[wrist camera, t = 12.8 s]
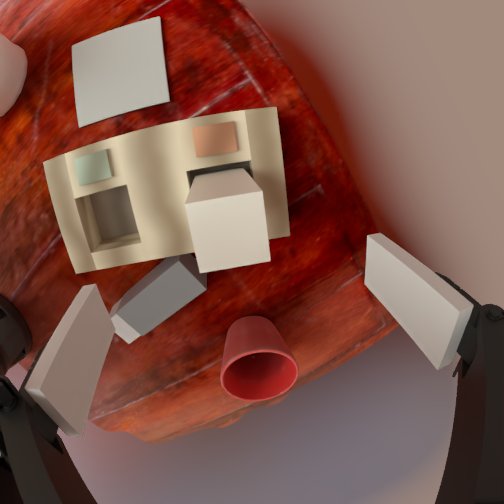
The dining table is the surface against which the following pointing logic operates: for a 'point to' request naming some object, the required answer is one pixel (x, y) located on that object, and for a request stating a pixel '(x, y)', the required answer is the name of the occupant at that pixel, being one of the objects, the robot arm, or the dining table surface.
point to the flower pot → (256, 361)
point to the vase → (11, 73)
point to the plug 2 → (227, 220)
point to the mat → (119, 71)
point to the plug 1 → (158, 296)
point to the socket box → (159, 185)
